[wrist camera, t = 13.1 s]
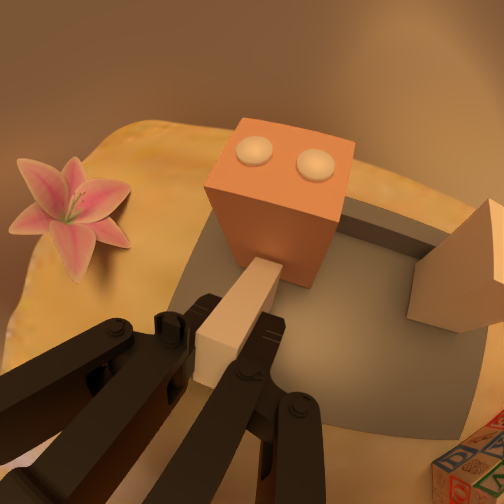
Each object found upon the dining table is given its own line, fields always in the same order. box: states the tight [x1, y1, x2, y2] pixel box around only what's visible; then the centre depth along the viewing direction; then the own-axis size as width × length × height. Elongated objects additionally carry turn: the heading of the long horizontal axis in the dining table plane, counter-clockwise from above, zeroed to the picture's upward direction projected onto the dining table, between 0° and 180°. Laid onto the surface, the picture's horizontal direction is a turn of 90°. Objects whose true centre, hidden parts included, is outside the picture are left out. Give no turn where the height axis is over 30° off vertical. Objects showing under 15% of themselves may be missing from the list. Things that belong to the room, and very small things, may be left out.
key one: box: [406, 198, 504, 333], centre depth 11 cm, size 5×4×9 cm
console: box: [167, 196, 488, 440], centre depth 16 cm, size 24×14×4 cm, turn 70°
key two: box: [203, 118, 355, 289], centre depth 14 cm, size 5×4×9 cm
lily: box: [9, 157, 131, 283], centre depth 19 cm, size 12×12×10 cm
